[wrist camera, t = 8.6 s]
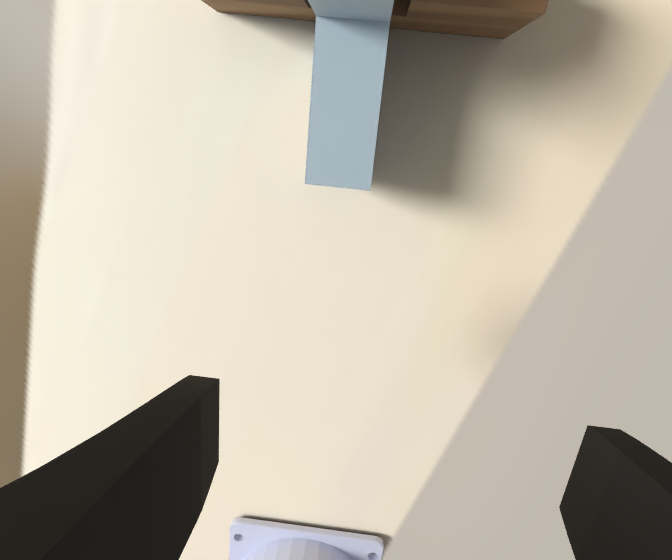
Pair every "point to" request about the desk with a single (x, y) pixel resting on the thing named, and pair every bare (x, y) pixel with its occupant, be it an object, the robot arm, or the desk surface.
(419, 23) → the brown notched wooden bar
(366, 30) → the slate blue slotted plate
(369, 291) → the desk surface
